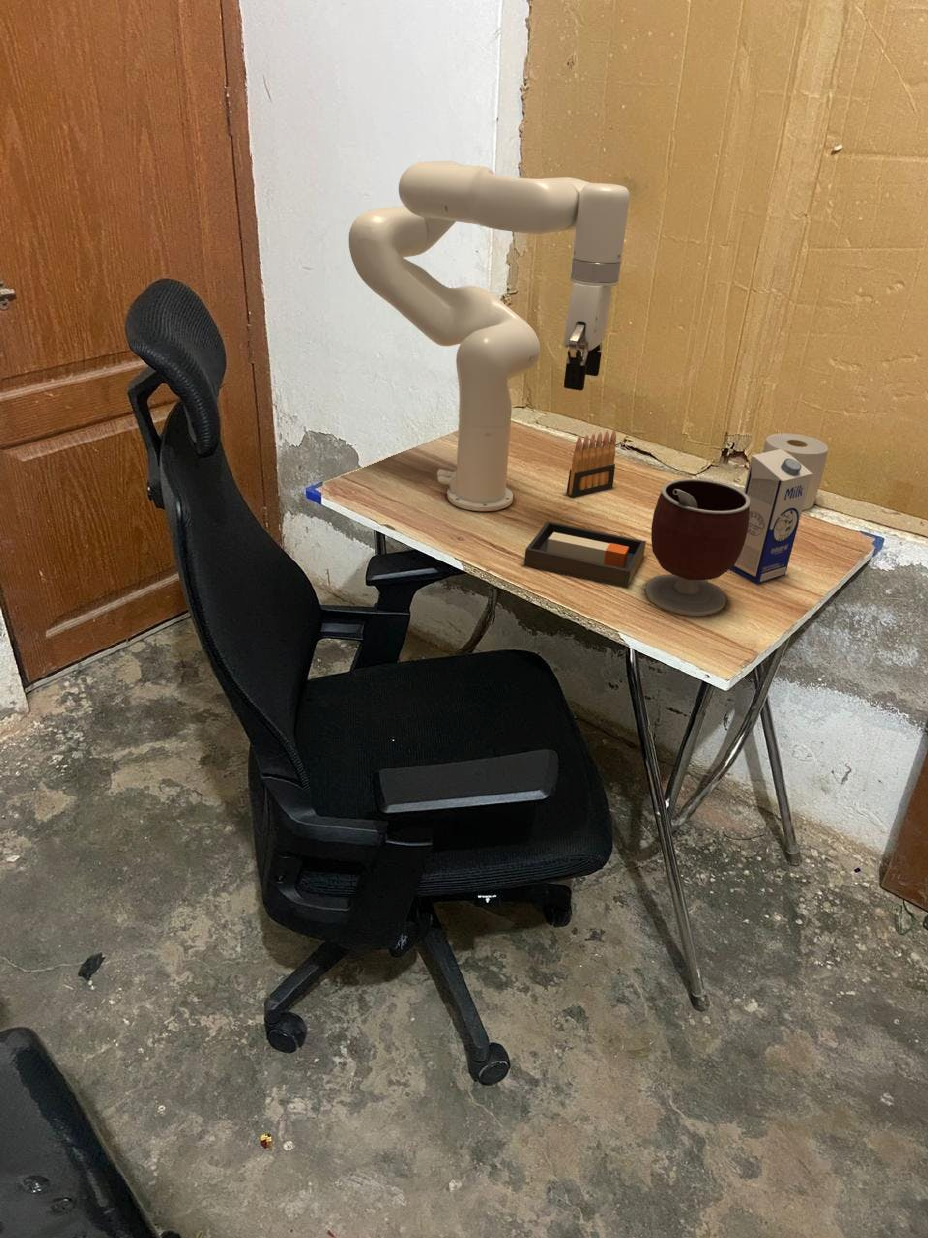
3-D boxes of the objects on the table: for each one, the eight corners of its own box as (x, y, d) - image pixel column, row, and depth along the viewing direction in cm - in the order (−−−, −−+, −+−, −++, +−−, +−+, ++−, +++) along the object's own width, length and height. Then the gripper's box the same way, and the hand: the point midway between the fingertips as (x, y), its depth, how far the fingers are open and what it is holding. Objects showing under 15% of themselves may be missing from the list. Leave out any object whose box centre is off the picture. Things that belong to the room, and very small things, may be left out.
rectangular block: (546, 554, 145) (548, 538, 144) (551, 547, 148) (553, 531, 146) (622, 571, 141) (625, 554, 140) (626, 563, 144) (629, 546, 142)
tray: (523, 565, 143) (525, 548, 141) (545, 536, 153) (547, 520, 151) (627, 588, 137) (630, 571, 136) (643, 556, 147) (646, 541, 146)
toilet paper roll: (783, 484, 180) (797, 430, 174) (827, 506, 171) (843, 449, 165) (739, 491, 175) (751, 436, 169) (782, 514, 166) (797, 457, 160)
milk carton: (754, 558, 149) (781, 447, 139) (785, 575, 144) (816, 460, 134) (725, 567, 145) (751, 453, 135) (756, 584, 141) (786, 468, 130)
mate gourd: (674, 567, 145) (696, 453, 134) (747, 599, 136) (776, 480, 126) (616, 595, 135) (635, 474, 125) (691, 632, 127) (718, 505, 116)
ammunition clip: (572, 497, 168) (579, 438, 162) (565, 494, 170) (572, 435, 164) (612, 488, 174) (621, 430, 168) (606, 485, 175) (614, 427, 169)
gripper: (586, 262, 143) (573, 366, 152) (556, 277, 129) (544, 390, 138) (631, 267, 141) (615, 373, 150) (605, 283, 127) (589, 398, 136)
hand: (581, 381), depth 144 cm, fingers open, 9 cm apart
